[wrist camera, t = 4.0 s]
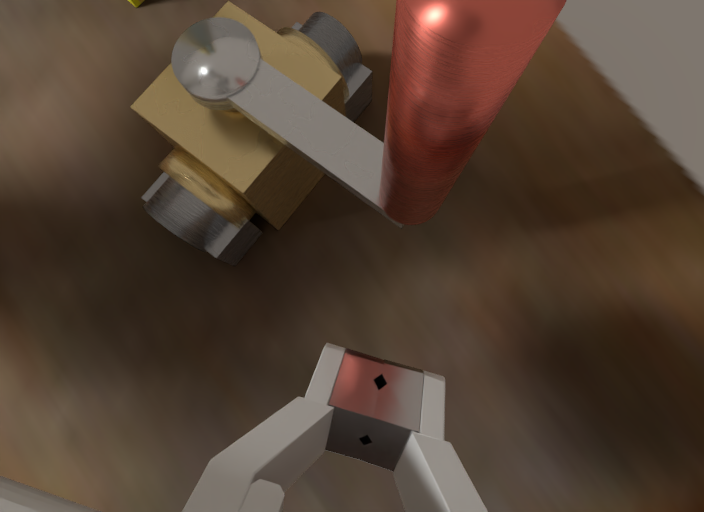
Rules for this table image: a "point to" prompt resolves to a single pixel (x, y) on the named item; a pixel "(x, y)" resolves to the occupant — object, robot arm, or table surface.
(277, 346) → the table surface
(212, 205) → the valve body
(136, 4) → the book
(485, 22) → the lever
